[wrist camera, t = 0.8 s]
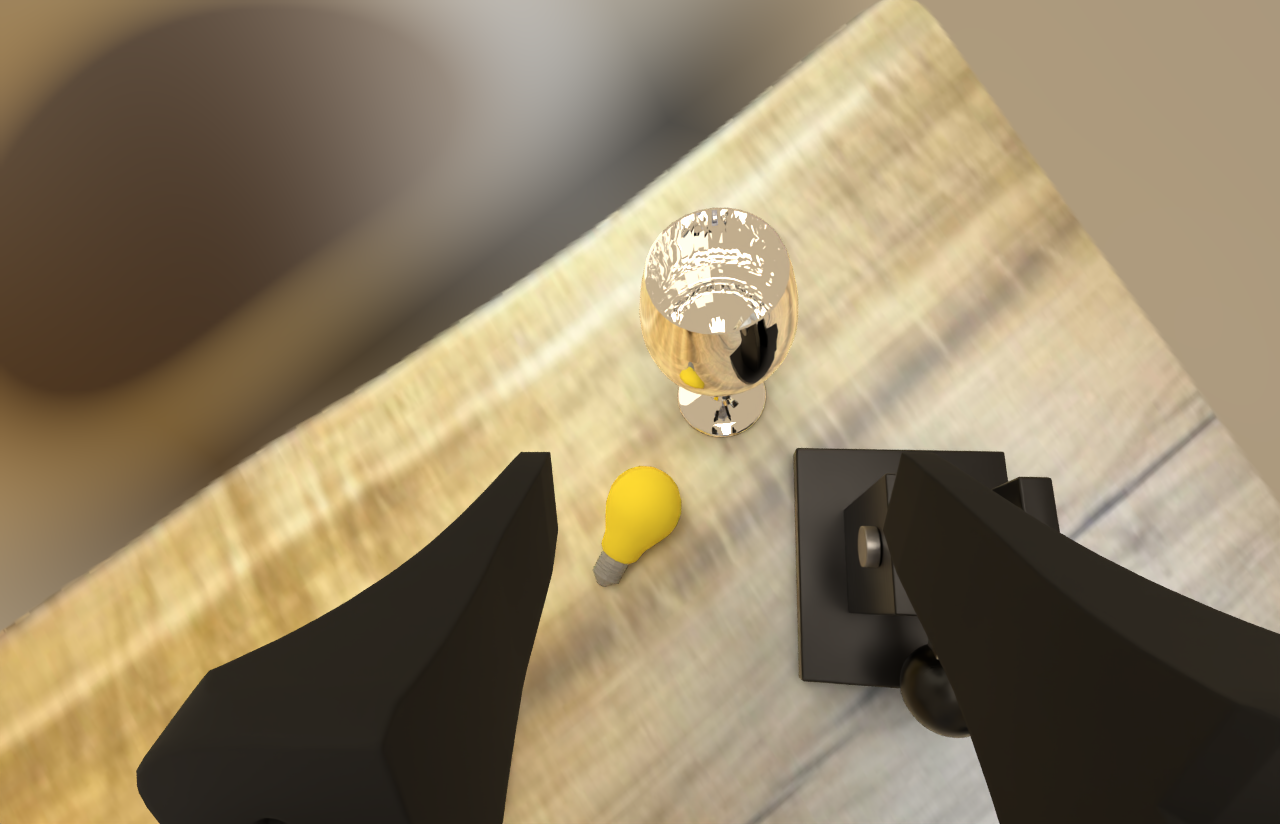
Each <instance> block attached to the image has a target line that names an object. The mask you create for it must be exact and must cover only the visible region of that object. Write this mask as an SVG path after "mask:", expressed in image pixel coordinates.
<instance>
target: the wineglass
mask: <svg viewBox="0 0 1280 824" xmlns="http://www.w3.org/2000/svg"><path fill="white" fill-rule="evenodd" d="M639 315H640V322H641V329H642V335H643V338H644V341H645V344H646V347H647V349H648V351H649V354H650V356H651V357H652V359H653V360H654V362H655V363H656V364H657V366H658V367H659V369H660V370H661V371H662V372H663V373H664V374H665V375H666V376H667V378H668V379H670V380H671V381H672V382H674V383H675V384H676V385H678V386H679V387H678V394H677V397H678V405H679V409H680V411H681V413H682V415H683V417H684V418H685V419H686V421H687V422H688V423H689V424H690V425H691V426H692V427H693V428H695V429H696V430H697V431H699V432H701V433H704V434H706V435H710V436H715V437H729V436H733V435H737V434H739V433H741V432H743V431H745V430H747V429H748V428H750V427H751V426H752V425H753V424H754V423H755V422H756V421H757V420H758V418H759V417H760V415H761V413H762V411H763V409H764V406H765V402H766V389H765V385H764V381H765V380H767V379H768V378H769V377H770V376H771V375H772V374H773V373H774V372H775V371H776V370H777V369H778V368H779V366H780V365H781V364H782V362H783V361H784V359H785V358H786V356H787V354H788V352H789V350H790V348H791V346H792V343H793V340H794V337H795V334H796V330H797V323H798V291H797V285H796V280H795V275H794V271H793V266H792V263H791V260H790V257H789V254H788V251H787V248H786V247H785V245H784V243H783V241H782V239H781V238H780V236H779V234H778V233H777V232H776V231H775V229H774V228H772V227H771V226H770V225H769V224H768V223H767V222H765V221H764V220H762V219H761V218H759V217H757V216H755V215H753V214H751V213H748V212H745V211H742V210H738V209H732V208H710V209H704V210H699V211H696V212H693V213H690V214H687V215H685V216H683V217H682V218H680V219H678V220H676V221H675V222H673V223H672V224H671V225H669V226H668V227H667V228H666V229H665V230H664V231H663V232H662V233H661V234H660V235H659V236H658V238H657V239H656V241H655V242H654V243H653V245H652V246H651V249H650V251H649V254H648V256H647V259H646V263H645V267H644V272H643V276H642V282H641V291H640V303H639Z"/></svg>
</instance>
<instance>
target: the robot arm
mask: <svg viewBox="0 0 1280 824" xmlns="http://www.w3.org/2000/svg"><path fill="white" fill-rule="evenodd" d="M883 532H884V536H885V539H886V542H887V545H888V549H889V552H890V555H891V558H892V561H893V564H894V567H895V570H896V573H897V575H898V577H899V579H900V581H901V583H902V586H903V588H904V590H905V592H906V594H907V596H908V598H909V600H910V602H911V604H912V606H913V608H914V610H915V612H916V614H917V616H918V618H919V620H920V622H921V624H922V626H923V628H924V630H925V632H926V634H927V637H928V639H929V641H930V643H931V645H932V647H933V649H934V651H935V653H936V655H937V657H938V659H939V661H940V663H941V665H942V667H943V669H944V671H945V673H946V675H947V678H948V680H949V682H950V684H951V687H952V689H953V691H954V693H955V696H956V699H957V701H958V704H959V707H960V709H961V712H962V715H963V718H964V720H965V723H966V726H967V728H968V731H969V734H970V736H971V739H972V742H973V745H974V748H975V751H976V753H977V756H978V759H979V762H980V765H981V768H982V771H983V774H984V777H985V780H986V783H987V786H988V789H989V792H990V795H991V798H992V801H993V804H994V807H995V810H996V814H997V817H998V820H999V823H1000V824H1280V634H1278V633H1275V632H1273V631H1270V630H1267V629H1264V628H1262V627H1259V626H1256V625H1254V624H1251V623H1248V622H1246V621H1243V620H1241V619H1238V618H1236V617H1233V616H1231V615H1228V614H1226V613H1223V612H1221V611H1218V610H1216V609H1213V608H1211V607H1209V606H1206V605H1204V604H1202V603H1200V602H1197V601H1195V600H1193V599H1190V598H1188V597H1186V596H1183V595H1181V594H1179V593H1177V592H1174V591H1172V590H1170V589H1167V588H1165V587H1163V586H1161V585H1159V584H1157V583H1154V582H1152V581H1150V580H1148V579H1146V578H1144V577H1142V576H1140V575H1138V574H1136V573H1134V572H1132V571H1130V570H1128V569H1126V568H1124V567H1122V566H1120V565H1118V564H1116V563H1114V562H1112V561H1110V560H1108V559H1106V558H1104V557H1102V556H1100V555H1098V554H1097V553H1095V552H1093V551H1091V550H1089V549H1087V548H1085V547H1084V546H1082V545H1080V544H1078V543H1077V542H1075V541H1073V540H1071V539H1070V538H1068V537H1066V536H1065V535H1063V534H1061V533H1059V532H1058V531H1056V530H1054V529H1053V528H1051V527H1049V526H1048V525H1046V524H1044V523H1043V522H1041V521H1039V520H1038V519H1036V518H1035V517H1033V516H1031V515H1030V514H1028V513H1026V512H1025V511H1023V510H1022V509H1020V508H1019V507H1017V506H1015V505H1014V504H1012V503H1011V502H1009V501H1008V500H1006V499H1005V498H1003V497H1002V496H1000V495H999V494H997V493H996V492H994V491H993V490H991V489H989V488H988V487H986V486H985V485H983V484H982V483H980V482H979V481H977V480H976V479H974V478H973V477H971V476H970V475H968V474H967V473H965V472H964V471H962V470H961V469H959V468H958V467H956V466H955V465H953V464H951V463H950V462H948V461H947V460H945V459H943V458H942V457H940V456H938V455H936V454H934V453H933V452H902V454H901V458H900V462H899V466H898V470H897V474H896V478H895V482H894V486H893V490H892V495H891V499H890V503H889V507H888V511H887V515H886V519H885V523H884V527H883ZM557 534H558V523H557V513H556V503H555V494H554V484H553V475H552V465H551V455H550V452H521V453H520V454H519V455H518V456H516V458H515V459H514V460H513V461H512V462H511V463H510V464H509V465H508V466H507V467H506V468H505V469H504V471H503V472H502V473H501V474H500V475H499V476H498V477H497V478H496V479H495V480H494V481H493V482H492V484H491V485H490V486H489V487H488V488H487V489H486V490H485V491H484V492H483V493H482V494H481V495H480V496H479V497H478V498H477V499H476V500H475V501H474V502H473V503H472V504H471V505H470V506H469V507H468V508H467V509H466V510H465V511H464V512H463V513H462V514H461V515H460V516H459V517H458V518H457V519H456V520H455V521H454V522H453V523H452V524H451V525H449V526H448V527H447V528H446V529H445V530H444V531H443V532H442V533H441V534H440V535H438V536H437V537H436V538H435V539H434V540H433V541H432V542H431V543H429V544H428V545H427V546H426V547H424V548H423V549H422V550H421V551H419V552H418V553H417V554H416V555H414V556H413V557H412V558H410V559H409V560H408V561H406V562H405V563H404V564H402V565H401V566H400V567H398V568H397V569H396V570H394V571H393V572H391V573H390V574H389V575H387V576H385V577H384V578H382V579H381V580H379V581H378V582H376V583H375V584H373V585H372V586H370V587H369V588H367V589H366V590H364V591H362V592H361V593H359V594H358V595H356V596H355V597H353V598H352V599H350V600H349V601H347V602H345V603H344V604H342V605H340V606H339V607H337V608H335V609H333V610H332V611H330V612H328V613H326V614H325V615H323V616H321V617H319V618H318V619H316V620H314V621H312V622H310V623H308V624H306V625H305V626H303V627H301V628H299V629H297V630H295V631H293V632H291V633H289V634H288V635H286V636H284V637H282V638H280V639H278V640H276V641H274V642H271V643H269V644H267V645H265V646H263V647H261V648H258V649H256V650H254V651H252V652H250V653H248V654H246V655H243V656H241V657H239V658H237V659H235V660H233V661H231V662H228V663H226V664H224V665H222V666H219V667H217V668H215V669H212V670H210V671H209V672H208V673H207V674H206V675H205V676H204V678H203V679H202V680H201V681H200V683H199V684H198V685H197V687H196V688H195V689H194V690H193V692H192V693H191V694H190V696H189V697H188V698H187V700H186V701H185V702H184V704H183V705H182V706H181V708H180V709H179V711H178V712H177V713H176V715H175V716H174V717H173V719H172V720H171V721H170V723H169V724H168V725H167V727H166V728H165V730H164V731H163V732H162V734H161V735H160V736H159V738H158V739H157V740H156V742H155V743H154V745H153V746H152V747H151V749H150V750H149V751H148V753H147V754H146V755H145V757H144V758H143V760H142V762H141V764H140V765H139V767H138V769H137V771H136V772H137V787H138V791H139V794H140V795H141V797H142V799H143V801H144V803H145V805H146V807H147V808H148V809H149V811H150V812H151V813H152V814H153V816H154V817H155V818H156V819H157V821H158V822H159V823H160V824H502V823H503V816H504V808H505V801H506V793H507V786H508V780H509V773H510V766H511V759H512V752H513V746H514V739H515V733H516V726H517V720H518V714H519V708H520V701H521V695H522V689H523V685H524V680H525V676H526V671H527V667H528V663H529V659H530V655H531V652H532V648H533V644H534V640H535V637H536V633H537V629H538V625H539V622H540V618H541V614H542V610H543V606H544V603H545V599H546V595H547V591H548V587H549V583H550V580H551V576H552V572H553V564H554V557H555V550H556V542H557Z"/></svg>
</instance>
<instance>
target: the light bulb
mask: <svg viewBox="0 0 1280 824" xmlns="http://www.w3.org/2000/svg"><path fill="white" fill-rule="evenodd" d="M680 515H681V498H680V494H679V491H678V487H677V485H676V484H675V482H674V481H673V479H672V478H671V477H670V476H669V475H667V474H666V473H664V472H663V471H661V470H659V469H656V468H654V467H647V466H638V467H635V468H631V469H628V470H627V471H625V472H624V473H622V474H621V475H619V476H618V478H617V479H616V480H615V482H614V483H613V484H612V486H611V489H610V492H609V495H608V498H607V501H606V531H605V534H604V537H603V540H602V547H603V551H602V552H601V556H599V559H598V560H597V562H596V566H594V568H593V572H594V574H595V577H596V580H597V583H598V584H599V585H601V586H603V587H606V586H608V585H613V584H618V583H619V580H620V579H621V578H622V576H623V573H624V572H625V569H627V566H628V564H630V563H633V562H636V561H637V560H638V559H639V557H640V556H641V555H642V554H643V552H644V551H646V550H647V549H649V548H650V547H652V546H653V545H655V544H657V543H658V542H660V541H661V540H662V539H664V538H665V537H667V536H668V535H669V534H670V533H671V532H672V531H673V529H674V528H675V527H676V525H677V523H678V520H679V517H680Z"/></svg>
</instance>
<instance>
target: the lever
mask: <svg viewBox="0 0 1280 824" xmlns="http://www.w3.org/2000/svg"><path fill="white" fill-rule="evenodd" d="M900 689H901V694H902V697H903V700H904V702H905V704H906V706H907V708H908V709H909V711H910V712H911V714H912V715H913V716H914V717H915V718H916V720H917V721H918V722H920V723H921V724H922V725H923V726H925V727H926V728H927V729H929V730H931V731H933V732H935V733H937V734H940V735H942V736H946V737H952V738H964V737H969V736H970V734H969V731H968V728H967V726H966V723H965V720H964V718H963V715H962V712H961V709H960V707H959V704H958V701H957V699H956V696H955V693H954V691H953V689H952V687H951V684H950V682H949V680H948V678H947V675H946V673H945V671H944V669H943V667H942V665H941V663H940V661H939V659H938V657H937V655H936V653H935V651H934V649H933V647H932V645H931V643H930V641H929V639H928V644H926V645H923V646H921V647H919V648H917V649H916V650H914V651H913V652H912V653H911V654H910V655H909V656H908V657H907V659H906V660H905V662H904V664H903V666H902V669H901V673H900Z"/></svg>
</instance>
